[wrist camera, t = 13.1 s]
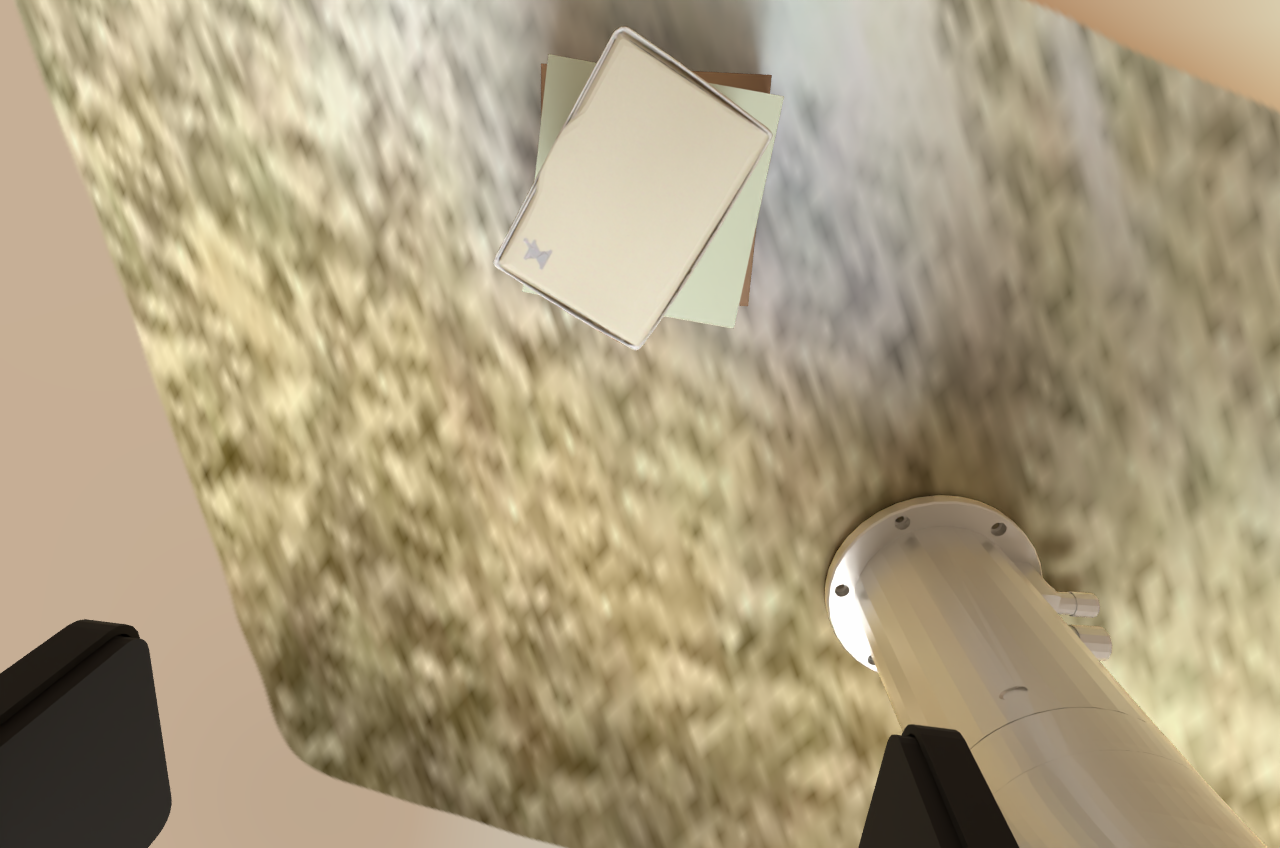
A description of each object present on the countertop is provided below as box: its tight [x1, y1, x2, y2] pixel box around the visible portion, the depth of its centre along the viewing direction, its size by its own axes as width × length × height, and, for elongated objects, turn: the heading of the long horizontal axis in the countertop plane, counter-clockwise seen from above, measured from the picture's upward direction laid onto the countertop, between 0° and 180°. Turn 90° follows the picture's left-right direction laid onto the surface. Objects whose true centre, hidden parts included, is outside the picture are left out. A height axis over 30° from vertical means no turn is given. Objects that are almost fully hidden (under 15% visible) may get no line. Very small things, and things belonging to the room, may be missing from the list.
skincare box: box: [493, 26, 773, 350], centre depth 22 cm, size 6×4×12 cm
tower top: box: [522, 54, 784, 329], centre depth 30 cm, size 9×9×4 cm
